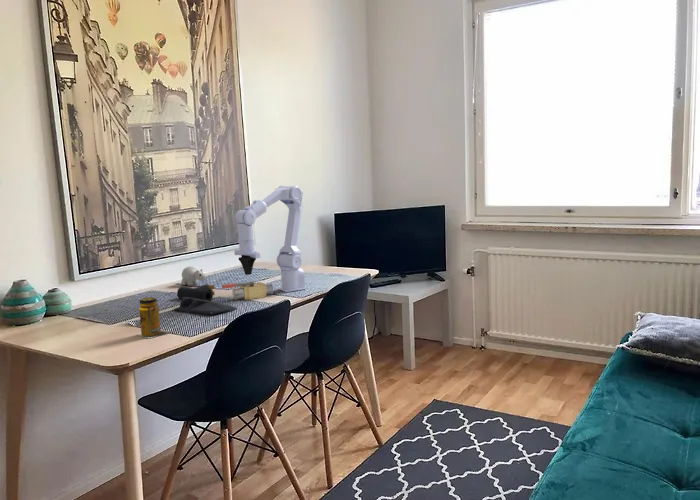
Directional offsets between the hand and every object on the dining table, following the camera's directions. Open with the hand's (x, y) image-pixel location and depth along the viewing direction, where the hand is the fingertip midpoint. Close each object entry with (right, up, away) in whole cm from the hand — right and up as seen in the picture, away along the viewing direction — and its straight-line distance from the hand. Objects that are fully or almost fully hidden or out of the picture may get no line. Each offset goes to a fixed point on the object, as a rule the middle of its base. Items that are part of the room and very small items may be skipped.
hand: (248, 274), depth 238 cm
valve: (+1, -9, +6) cm, 12 cm away
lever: (-4, -5, +4) cm, 8 cm away
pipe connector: (-21, -11, +8) cm, 24 cm away
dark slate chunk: (-14, -13, -12) cm, 23 cm away
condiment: (-24, -18, -42) cm, 51 cm away
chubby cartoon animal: (-30, -7, +34) cm, 45 cm away
